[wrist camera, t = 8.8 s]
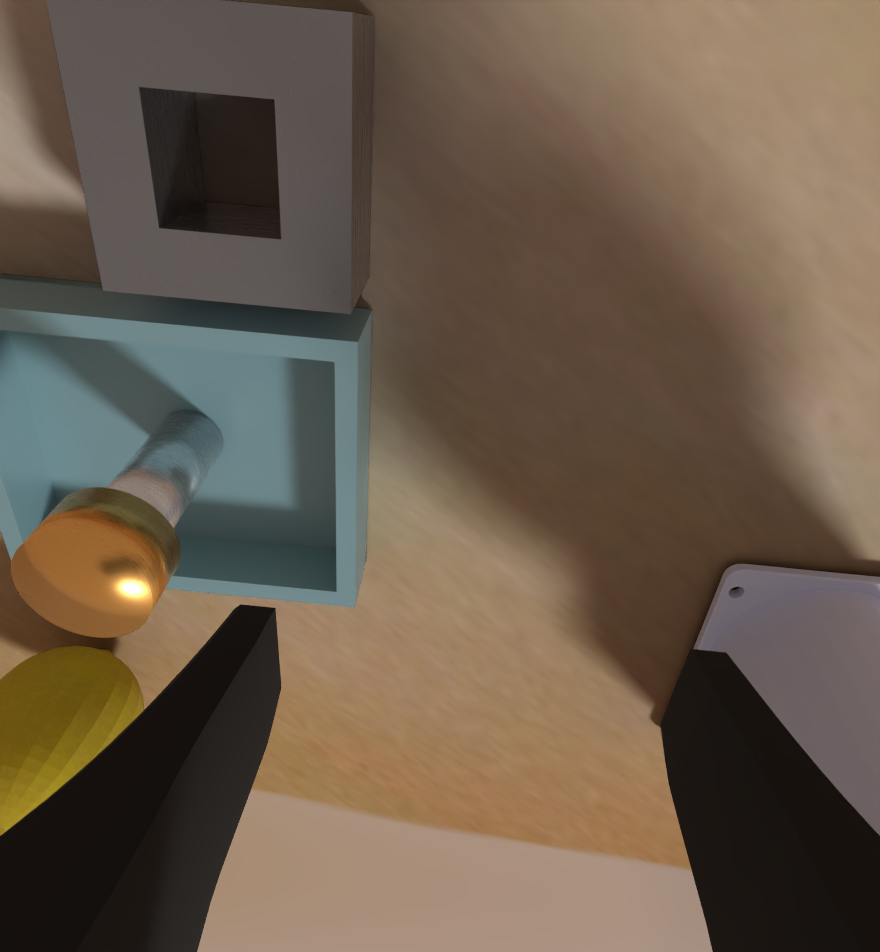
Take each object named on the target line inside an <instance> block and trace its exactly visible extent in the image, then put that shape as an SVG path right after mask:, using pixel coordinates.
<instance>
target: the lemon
mask: <svg viewBox="0 0 880 952" xmlns="http://www.w3.org/2000/svg"><path fill="white" fill-rule="evenodd" d="M143 711H144V702H143V695H142V692H141V689H140V687H139V684H138V681H137V679H136V678H135V676H134V674H133V673H132V672H131V670H130V669H129V668H128V667H127V666H126V665H125V664H124V663H123V662H122V661H121V660H119V659H118V658H116V657H115V656H114V654H113V653H112V652H111V651H109V650H106V649H101V650H100V649H96V648H92V647H86V646H68V647H59V648H54V649H51V650H48V651H45V652H42V653H39V654H37V655H35V656H32V657H30V658H28V659H27V660H25V661H23V662H22V663H20V664H19V665H18V666H16V667H15V668H14V669H13V670H11V671H10V672H9V673H8V674H6V675H5V676H4V677H3V678H2V679H1V680H0V835H2V834H3V833H4V832H6V831H7V830H8V829H9V828H11V827H12V826H13V825H15V824H16V823H17V822H18V821H20V820H21V819H22V818H23V817H25V816H26V815H27V814H28V813H30V812H31V811H32V810H33V809H35V808H36V807H37V806H39V805H40V804H41V803H42V802H44V801H45V800H46V799H47V798H48V797H50V796H51V795H52V794H53V793H54V792H56V791H57V790H58V789H59V788H60V787H62V786H63V785H64V784H65V783H66V782H67V781H69V780H70V779H71V778H72V777H73V776H74V775H76V774H77V773H78V772H79V771H80V770H81V769H82V768H84V767H85V766H86V765H87V764H88V763H89V762H90V761H91V760H92V759H94V758H95V757H96V756H97V755H98V754H99V753H100V752H101V751H102V750H103V749H105V748H106V747H107V746H108V745H109V744H110V743H111V742H112V741H113V740H114V739H115V738H116V737H117V736H118V735H119V734H120V733H121V732H122V731H123V730H124V729H125V728H126V727H127V726H128V725H129V724H130V723H131V722H132V721H133V720H135V719H136V718H137V717H138V716H139V715H140V714H141V713H142V712H143Z"/></svg>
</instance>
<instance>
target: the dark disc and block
mask: <svg viewBox="0 0 880 952" xmlns="http://www.w3.org/2000/svg"><path fill="white" fill-rule="evenodd" d="M46 3H47V8H48V14H49V19H50V24H51V29H52V34H53V39H54V44H55V49H56V54H57V59H58V64H59V69H60V75H61V80H62V85H63V90H64V95H65V100H66V105H67V110H68V115H69V120H70V125H71V130H72V136H73V141H74V146H75V151H76V156H77V161H78V166H79V171H80V176H81V181H82V186H83V191H84V197H85V202H86V207H87V212H88V217H89V222H90V227H91V232H92V237H93V242H94V247H95V252H96V258H97V263H98V268H99V273H100V278H101V283H102V288H103V291H112V292H122V293H133V294H143V295H154V296H164V297H175V298H185V299H196V300H206V301H217V302H228V303H238V304H249V305H259V306H270V307H280V308H291V309H301V310H312V311H322V312H333V313H343V314H351V313H352V311H353V309H354V307H355V305H356V303H357V301H358V299H359V297H360V295H361V293H362V291H363V289H364V287H365V285H366V283H367V281H368V279H369V264H370V214H371V164H372V113H373V63H374V16H369V15H364V14H359V13H354V12H345V11H334V10H323V9H312V8H301V7H290V6H279V5H269V4H258V3H247V2H236V1H225V0H46ZM194 92H200V93H210V94H221V95H232V96H243V97H254V98H264V99H274V102H275V122H276V142H277V162H278V183H279V203H280V209H278V208H267V207H257V206H246V205H235V204H225V203H214V202H205V195H204V186H203V176H202V167H201V158H200V148H199V139H198V129H197V120H196V110H195V101H194Z"/></svg>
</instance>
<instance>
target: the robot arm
mask: <svg viewBox="0 0 880 952" xmlns="http://www.w3.org/2000/svg"><path fill="white" fill-rule="evenodd" d="M734 587H739V588H738V589H736V590H731V589H732V588H734ZM280 691H281V677H280V664H279V650H278V637H277V624H276V611H275V608H270V607H260V606H250V605H239V606H238V607H236V608H235V609H234V610H233V611H232V613H231V614H230V615H229V616H228V617H227V619H226V620H225V621H224V622H223V624H222V625H221V626H220V627H219V628H218V630H217V631H216V632H215V633H214V634H213V636H212V637H211V638H210V639H209V640H208V641H207V643H206V644H205V645H204V646H203V647H202V648H201V649H200V651H199V652H198V653H197V654H196V655H195V656H194V657H193V658H192V660H191V661H190V662H189V663H188V664H187V665H186V666H185V667H184V669H183V670H182V671H181V672H180V673H179V674H178V675H177V676H176V677H175V678H174V679H173V680H172V681H171V682H170V684H169V685H168V686H167V687H166V688H165V689H164V690H163V691H162V692H161V693H160V694H159V695H158V696H157V697H156V699H155V700H154V701H153V702H152V703H151V704H150V705H149V706H148V707H147V708H146V709H145V710H144V711H143V712H142V713H141V714H140V715H139V716H138V717H137V718H136V719H135V720H133V721H132V722H131V723H130V724H129V725H128V726H127V727H126V728H125V729H124V730H123V731H122V732H121V733H120V734H119V735H118V736H117V737H116V738H115V739H114V740H113V741H112V742H111V743H110V744H109V745H108V746H107V747H106V748H105V749H103V750H102V751H101V752H100V753H99V754H98V755H97V756H96V757H95V758H94V759H92V760H91V761H90V762H89V763H88V764H87V765H86V766H85V767H84V768H82V769H81V770H80V771H79V772H78V773H77V774H76V775H74V776H73V777H72V778H71V779H70V780H69V781H67V782H66V783H65V784H64V785H63V786H62V787H60V788H59V789H58V790H57V791H56V792H54V793H53V794H52V795H51V796H50V797H48V798H47V799H46V800H45V801H44V802H42V803H41V804H40V805H39V806H37V807H36V808H35V809H33V810H32V811H31V812H30V813H28V814H27V815H26V816H25V817H23V818H22V819H21V820H20V821H18V822H17V823H16V824H15V825H13V826H12V827H11V828H9V829H8V830H7V831H6V832H4V833H3V834H2V835H0V952H197V950H198V946H199V942H200V939H201V935H202V932H203V928H204V924H205V921H206V917H207V913H208V910H209V906H210V902H211V899H212V896H213V893H214V890H215V887H216V884H217V881H218V878H219V875H220V872H221V869H222V866H223V864H224V861H225V858H226V856H227V853H228V850H229V847H230V845H231V842H232V839H233V837H234V834H235V831H236V829H237V826H238V823H239V820H240V818H241V815H242V812H243V809H244V807H245V804H246V801H247V799H248V796H249V793H250V791H251V788H252V785H253V782H254V780H255V777H256V774H257V771H258V769H259V766H260V763H261V760H262V758H263V755H264V752H265V749H266V746H267V743H268V740H269V736H270V732H271V728H272V724H273V720H274V716H275V712H276V707H277V703H278V699H279V695H280ZM661 736H662V740H663V748H664V755H665V762H666V768H667V775H668V781H669V786H670V790H671V794H672V798H673V802H674V806H675V809H676V813H677V817H678V821H679V825H680V828H681V832H682V836H683V839H684V843H685V847H686V850H687V854H688V858H689V861H690V865H691V869H692V873H693V876H694V880H695V884H696V887H697V890H698V895H699V898H700V902H701V906H702V909H703V913H704V917H705V920H706V924H707V928H708V933H709V937H710V942H711V946H712V950H713V952H880V577H875V576H864V575H854V574H844V573H833V572H823V571H813V570H803V569H792V568H782V567H772V566H761V565H751V564H735V565H732V566H730V567H729V568H727V569H726V570H725V572H724V573H723V576H722V578H721V581H720V583H719V586H718V588H717V591H716V593H715V596H714V598H713V601H712V603H711V606H710V608H709V611H708V613H707V616H706V618H705V621H704V623H703V626H702V628H701V631H700V633H699V636H698V638H697V641H696V643H695V646H694V648H693V649H691V650H690V652H689V655H688V657H687V660H686V662H685V665H684V667H683V670H682V672H681V675H680V677H679V680H678V682H677V685H676V687H675V690H674V692H673V695H672V697H671V700H670V702H669V705H668V707H667V710H666V712H665V715H664V717H663V720H662V722H661Z"/></svg>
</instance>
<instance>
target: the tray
mask: <svg viewBox="0 0 880 952" xmlns="http://www.w3.org/2000/svg"><path fill="white" fill-rule="evenodd" d="M371 335H372V309H364V308H354V309H353V311H352V313H351V314H343V313H333V312H322V311H312V310H301V309H291V308H280V307H270V306H259V305H249V304H238V303H228V302H217V301H206V300H196V299H185V298H175V297H164V296H154V295H143V294H133V293H122V292H112V291H103V288H102V284H101V283H90V282H80V281H69V280H58V279H48V278H37V277H27V276H16V275H6V274H0V530H1V533H2V536H3V539H4V541H5V544H6V547H7V550H8V553H9V556H10V559H11V561H12V558H13V555H14V553H15V552H16V550H17V549H18V548H19V547H20V546H21V544H22V543H23V542H24V541H25V540H26V539H27V538H28V537H29V536H30V535H31V534H32V532H33V531H34V530H35V529H36V528H37V527H38V526H39V525H40V524H41V523H42V521H43V520H44V519H45V518H46V517H47V516H48V515H49V514H50V513H51V512H52V511H53V509H54V508H55V507H56V506H57V505H58V504H59V503H60V502H61V501H62V500H63V499H64V498H65V497H66V496H68V495H69V494H71V493H73V492H75V491H78V490H81V489H86V488H94V487H101V488H107V486H108V485H109V484H110V483H111V482H112V480H113V479H114V478H115V477H116V476H117V474H118V473H119V472H120V471H121V470H122V468H123V467H124V466H125V465H126V464H127V463H128V461H129V460H130V459H131V458H132V457H133V455H134V454H135V453H136V452H137V451H138V449H139V448H140V447H141V446H142V445H143V443H144V442H145V441H146V440H147V439H148V438H149V436H150V435H151V434H152V433H153V432H154V430H155V429H156V428H157V427H158V426H159V424H160V423H161V422H162V421H163V420H164V418H165V417H166V416H167V415H169V414H170V413H172V412H174V411H177V410H183V409H188V410H194V411H197V412H200V413H202V414H204V415H206V416H207V417H209V418H210V419H211V420H213V421H214V422H215V423H216V425H217V426H218V427H219V429H220V431H221V433H222V435H223V439H224V447H223V451H222V453H221V455H220V456H219V458H218V459H217V461H216V462H215V464H214V466H213V467H212V469H211V470H210V472H209V473H208V475H207V477H206V478H205V480H204V481H203V483H202V485H201V486H200V488H199V489H198V491H197V492H196V494H195V496H194V497H193V499H192V500H191V502H190V503H189V505H188V507H187V508H186V510H185V511H184V513H183V514H182V516H181V518H180V519H179V521H178V522H177V524H176V526H175V527H174V530H175V532H176V534H177V536H178V539H179V542H180V546H181V558H180V562H179V565H178V567H177V569H176V571H175V572H174V574H173V576H172V578H171V579H170V581H169V583H168V584H167V586H166V588H165V589H173V590H183V591H193V592H203V593H213V594H223V595H234V596H244V597H254V598H264V599H274V600H285V601H295V602H305V603H315V604H325V605H335V606H346V607H355V605H356V601H357V596H358V592H359V588H360V584H361V579H362V575H363V571H364V566H365V562H366V554H367V510H368V467H369V423H370V379H371Z"/></svg>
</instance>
